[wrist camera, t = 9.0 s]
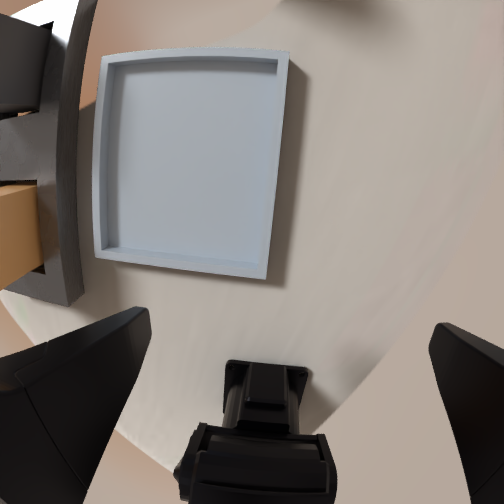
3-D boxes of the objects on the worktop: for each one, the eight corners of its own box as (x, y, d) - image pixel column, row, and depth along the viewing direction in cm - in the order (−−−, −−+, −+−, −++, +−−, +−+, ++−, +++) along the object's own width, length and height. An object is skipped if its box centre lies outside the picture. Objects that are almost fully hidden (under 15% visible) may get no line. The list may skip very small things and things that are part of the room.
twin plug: (55, 106, 18) (-21, 103, 11) (22, 112, 18) (-50, 114, 11) (66, 36, 16) (-3, 12, 9) (32, 46, 16) (-35, 32, 9)
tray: (266, 270, 21) (265, 279, 20) (104, 250, 22) (95, 257, 20) (288, 58, 17) (289, 51, 15) (112, 60, 17) (102, 56, 16)
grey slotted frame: (84, 293, 23) (68, 306, 21) (14, 276, 23) (-2, 287, 21) (98, -2, 15) (81, -13, 13) (20, 24, 16) (3, 19, 13)
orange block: (57, 254, 22) (-7, 295, 15) (26, 249, 22) (-36, 284, 15) (53, 181, 20) (-22, 203, 13) (20, 181, 20) (-50, 202, 13)
